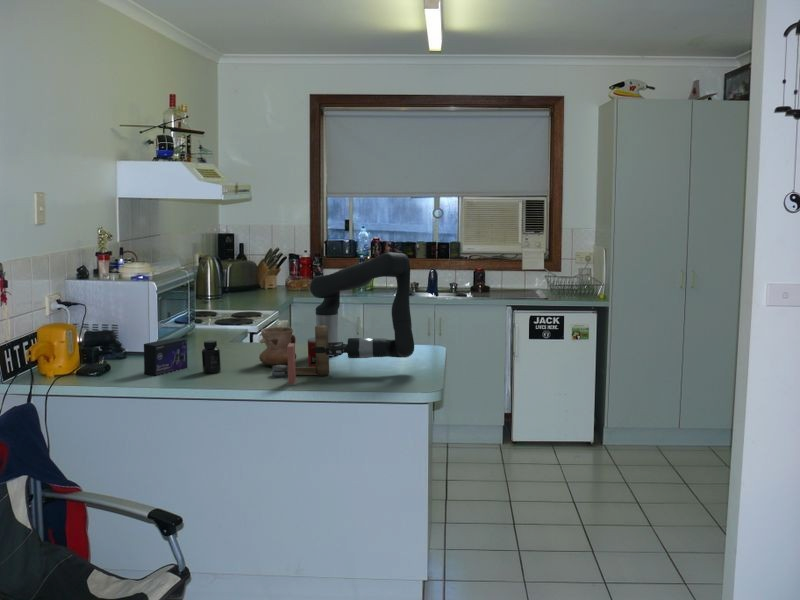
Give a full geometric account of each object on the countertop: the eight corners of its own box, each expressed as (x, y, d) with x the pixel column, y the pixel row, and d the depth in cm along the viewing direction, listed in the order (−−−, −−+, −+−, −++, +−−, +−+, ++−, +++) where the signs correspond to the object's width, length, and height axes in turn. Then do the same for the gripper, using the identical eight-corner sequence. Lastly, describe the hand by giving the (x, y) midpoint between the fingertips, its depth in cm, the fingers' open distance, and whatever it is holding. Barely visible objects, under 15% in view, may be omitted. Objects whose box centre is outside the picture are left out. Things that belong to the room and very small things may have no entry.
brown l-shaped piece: (273, 373, 335) (272, 326, 333) (329, 372, 335) (328, 325, 333) (271, 376, 330) (270, 328, 327) (328, 375, 330) (327, 327, 327)
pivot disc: (272, 374, 335) (272, 368, 335) (288, 373, 335) (288, 368, 335) (270, 377, 330) (270, 372, 329) (286, 377, 330) (286, 372, 329)
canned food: (310, 369, 343) (309, 341, 341) (306, 365, 350) (306, 337, 349) (329, 368, 345) (329, 340, 343) (326, 364, 352) (325, 336, 351)
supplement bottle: (222, 370, 344) (221, 339, 342) (219, 374, 337) (218, 342, 335) (204, 370, 344) (203, 339, 342) (201, 374, 337) (199, 343, 335)
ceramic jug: (273, 370, 342) (272, 333, 340) (249, 365, 351) (248, 330, 349) (308, 362, 355) (307, 327, 353) (284, 358, 365) (283, 324, 363)
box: (156, 376, 334) (154, 345, 333) (143, 374, 338) (142, 343, 336) (188, 368, 349) (187, 338, 347) (176, 366, 352) (175, 336, 351)
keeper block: (289, 381, 323) (287, 343, 321) (297, 381, 323) (296, 343, 321) (286, 385, 316) (285, 346, 314) (295, 385, 316) (294, 346, 314)
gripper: (361, 334, 338) (316, 335, 338) (359, 341, 324) (312, 342, 324) (361, 354, 339) (316, 354, 339) (360, 361, 325) (313, 362, 325)
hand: (315, 348), depth 331 cm, fingers closed on brown l-shaped piece, 5 cm apart
